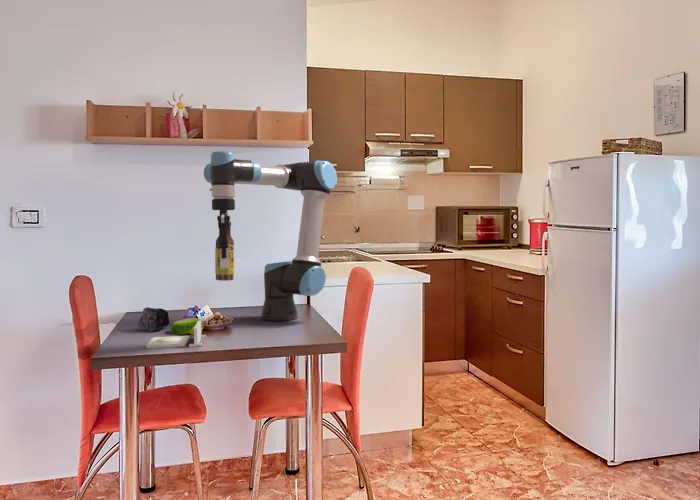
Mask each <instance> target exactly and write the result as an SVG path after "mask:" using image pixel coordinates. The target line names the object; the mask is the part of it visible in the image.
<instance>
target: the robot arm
mask: <svg viewBox="0 0 700 500" xmlns="http://www.w3.org/2000/svg"><path fill="white" fill-rule="evenodd" d="M203 176H204V179H205V181H206V182H207V183H209V184H210V185H211V188H209V191H210V192H211V198H212V199H211V210H212V211H219V215H217V217H216V218H217V219H216V220H217V227H218V230H219V231H218V237H219V246H217V248H218V249H220V268H229V265H228V244H227V229H228V228H229V221H231V216H230V215H228V211H234V210H235V209H236V200H235V199H234V198H235V196H236V195H235V194H236V191H235V189H236V188H235V187H236V186H235V185H254V186H255V185H257V186H274V187H275V188H277V189H286V190H290V191H291V190H293V191H300V194H301V195H302V197H303V198H302V199H303V202H302V208H301V217H300V225H299V232H298V233H299V234H298V242H297V250H296V256H295V257H293V258H292V260H290V261H289V260H288V261H287V260H286V261H280V262H279V261H278V262H272V263H271V262H270V263H267V264H266V265H265V266H264V271H263V272H264V273H263V278H264V279H263V281H264V282H263V283H264V300H263V301H264V302H263V305H262V309H261V312H260V319H261V320H263V321H268V322H285V321H293V320H295V319H296V320H297V319H298V318H299V312H298V310H297V306H296V303H295V301H294V295H299V296H306V297H307V296H310V297H312V296H316V295H318V294H319V293H320V292H321V291H322V290H323V289H324V287H325V283H326V280H327V279H326V278H327V276H326V273H325V269H324V267H322V262H321V260H320V259H319V252H320V244H321V238H322V237H321V236H322V228H323V220H324V211H325V202H326V199H328V198H329V197H330V193H331V190H334V189H335V188H336V186H337V183H338V175H337V171H336V169H335V167H334V165H333V164H332V163H331V162H329V161H327V160H314V161H302V162H301V161H300V162H294V163H289V164H276V165H274V166H272V165H271V166H270V165H261V164H260V163H259V162H258V161H255V160H251V159H249V160H248V159H238V158H237V159H236V158H235V156H234V152H232V151H226V150H217V151H213V152H212V153H211V156H210V163H208V164H206V165H205V166H204V169H203Z"/></svg>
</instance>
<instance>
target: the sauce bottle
mask: <svg viewBox="0 0 700 500" xmlns="http://www.w3.org/2000/svg"><path fill="white" fill-rule="evenodd" d="M231 227H232V222H231V220H230V221H229V228H228V229H227V244H228V265H229V268H220V249H218V248H217V246H219V236H217V238H216V240H215V249H214V250H215V252H214V253H215V254H214V256H215V260H214V261H215V262H214V263H215V264H214V270H215V271H214V274H215V280H216V281H220V282H221V281H226V282H227V281H234V280H235V279H234V275H235V242H234V241H235V240H234V239H233V237H232V233H231Z"/></svg>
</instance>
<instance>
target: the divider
mask: <svg viewBox="0 0 700 500" xmlns="http://www.w3.org/2000/svg"><path fill="white" fill-rule="evenodd" d="M201 322H202V320H200V321H198V322H197V324H196V325H195V327H194V334H193V340H194V341H193V342H194V343H189V345H188V346H189V348H198V347H199V348H200V347H203V343H200V341H201V340H202V339H206V338H207V335H206V334H202V331H201Z"/></svg>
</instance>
